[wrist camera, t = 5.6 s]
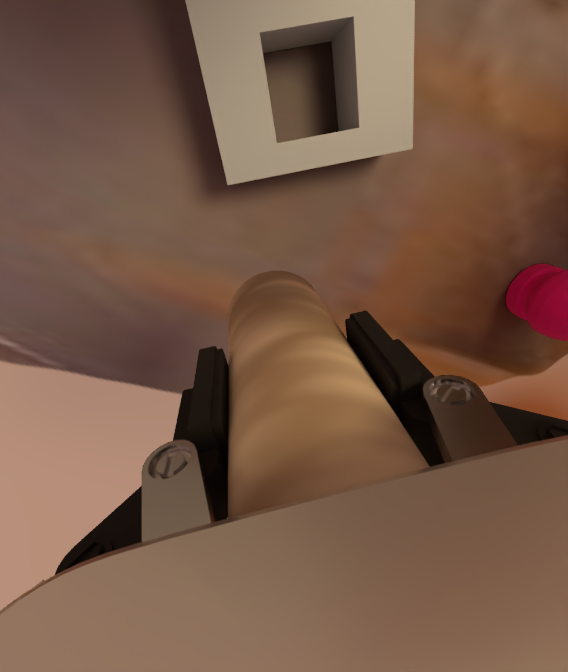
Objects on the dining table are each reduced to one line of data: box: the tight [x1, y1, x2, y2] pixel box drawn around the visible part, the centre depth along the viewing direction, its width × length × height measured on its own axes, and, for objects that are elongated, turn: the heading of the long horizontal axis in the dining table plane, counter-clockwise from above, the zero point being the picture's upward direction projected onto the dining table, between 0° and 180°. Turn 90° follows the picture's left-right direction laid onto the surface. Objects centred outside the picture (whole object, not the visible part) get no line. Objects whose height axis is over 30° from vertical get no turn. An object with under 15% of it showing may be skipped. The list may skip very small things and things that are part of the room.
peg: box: [228, 271, 430, 518], centre depth 11 cm, size 4×4×12 cm
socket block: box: [185, 0, 415, 185], centre depth 23 cm, size 14×16×5 cm
